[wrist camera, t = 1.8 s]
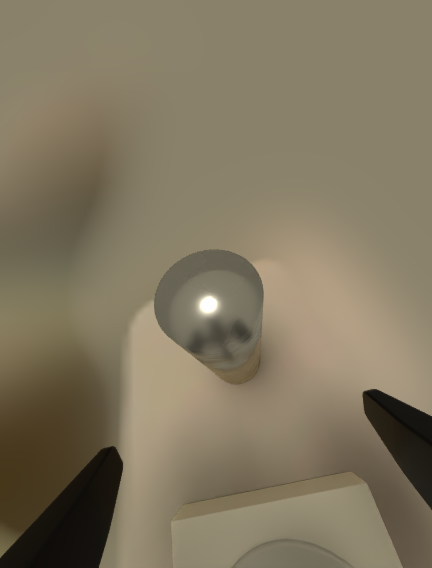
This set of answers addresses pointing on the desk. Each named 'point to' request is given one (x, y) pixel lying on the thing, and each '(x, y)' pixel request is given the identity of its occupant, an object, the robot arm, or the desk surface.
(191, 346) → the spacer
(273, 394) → the desk surface
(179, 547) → the scale
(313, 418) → the desk surface
